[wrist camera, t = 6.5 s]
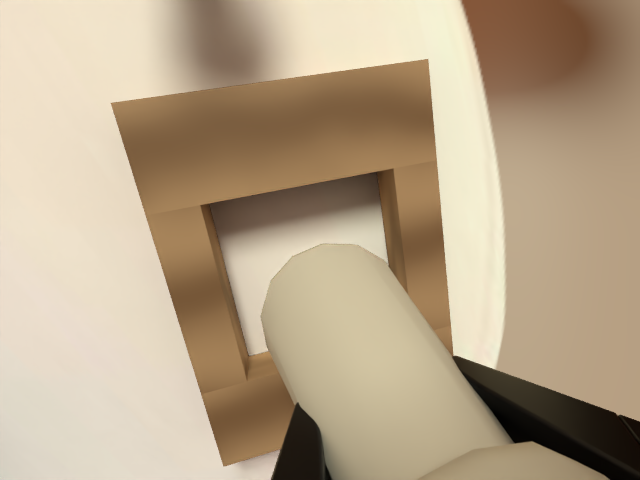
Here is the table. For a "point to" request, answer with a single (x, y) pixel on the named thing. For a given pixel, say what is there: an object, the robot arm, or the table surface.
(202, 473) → the table surface
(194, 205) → the wooden flat frame
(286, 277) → the salt shaker
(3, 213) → the table surface
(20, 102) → the table surface
